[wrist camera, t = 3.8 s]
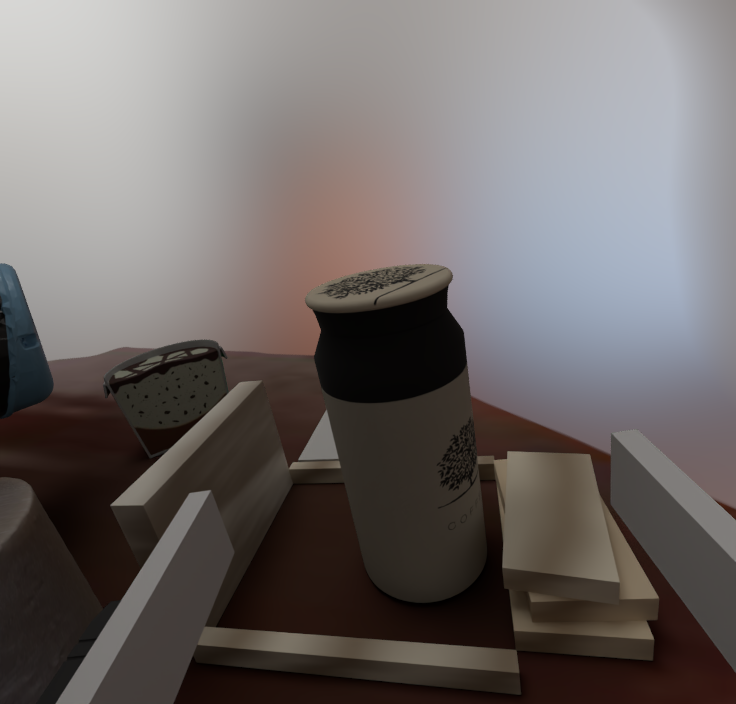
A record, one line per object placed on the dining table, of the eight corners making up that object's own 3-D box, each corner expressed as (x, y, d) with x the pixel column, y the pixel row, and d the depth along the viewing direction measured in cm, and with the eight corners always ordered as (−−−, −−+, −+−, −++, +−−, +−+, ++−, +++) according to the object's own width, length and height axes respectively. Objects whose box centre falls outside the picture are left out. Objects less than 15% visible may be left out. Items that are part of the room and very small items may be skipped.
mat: (300, 469, 39) (298, 460, 39) (330, 413, 48) (328, 405, 48) (409, 466, 36) (407, 456, 36) (419, 408, 46) (418, 399, 45)
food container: (235, 403, 56) (212, 330, 52) (247, 419, 50) (222, 340, 47) (133, 441, 50) (99, 364, 47) (134, 464, 45) (97, 379, 42)
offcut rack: (165, 659, 24) (94, 520, 21) (276, 476, 39) (245, 376, 35) (685, 711, 18) (708, 523, 14) (584, 469, 32) (583, 346, 29)
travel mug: (341, 554, 29) (272, 297, 23) (424, 493, 33) (386, 261, 27) (424, 636, 23) (362, 312, 16) (513, 547, 27) (491, 263, 21)
